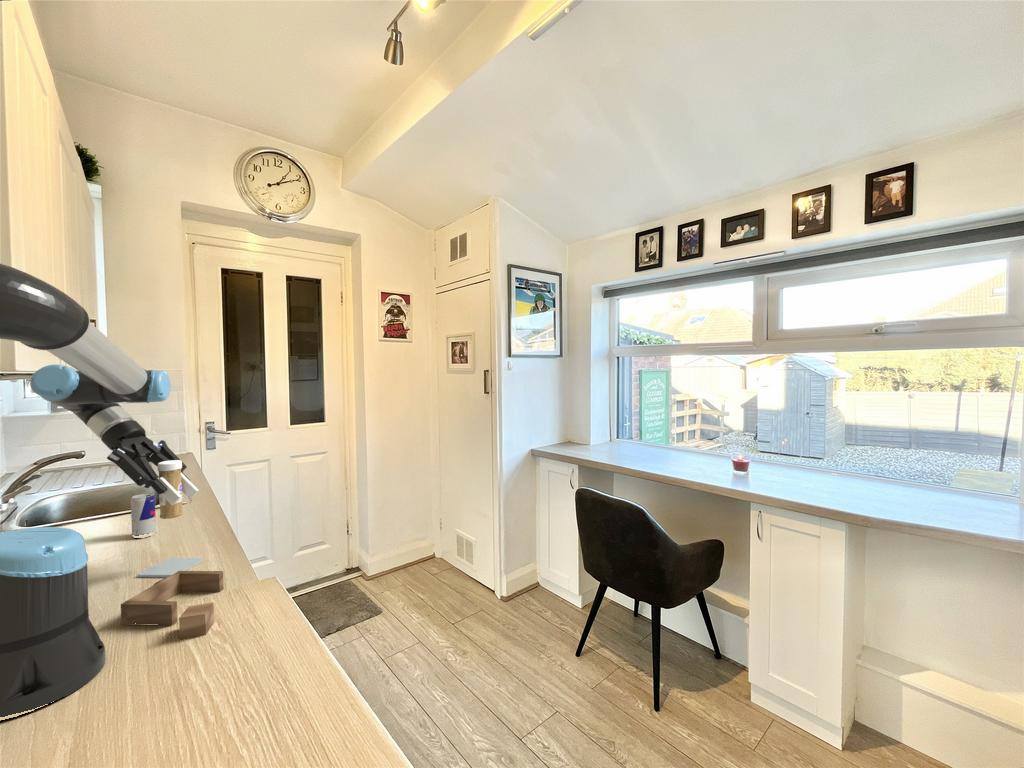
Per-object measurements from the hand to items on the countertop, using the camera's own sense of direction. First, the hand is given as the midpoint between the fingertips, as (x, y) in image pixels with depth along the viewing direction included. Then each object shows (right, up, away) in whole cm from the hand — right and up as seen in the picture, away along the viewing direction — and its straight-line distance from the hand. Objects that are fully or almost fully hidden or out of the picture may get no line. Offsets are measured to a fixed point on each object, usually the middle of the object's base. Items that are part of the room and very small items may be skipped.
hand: (185, 497), depth 102 cm
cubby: (+10, -18, -16) cm, 26 cm away
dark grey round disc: (+2, -18, -6) cm, 19 cm away
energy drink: (-29, -18, +22) cm, 41 cm away
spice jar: (-4, -5, 0) cm, 6 cm away
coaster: (-4, -18, +1) cm, 18 cm away
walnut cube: (+21, -18, -24) cm, 37 cm away
